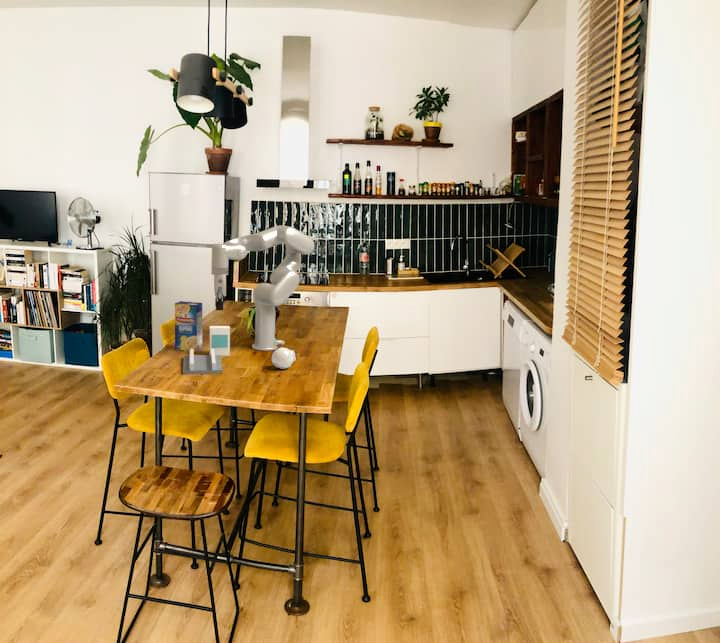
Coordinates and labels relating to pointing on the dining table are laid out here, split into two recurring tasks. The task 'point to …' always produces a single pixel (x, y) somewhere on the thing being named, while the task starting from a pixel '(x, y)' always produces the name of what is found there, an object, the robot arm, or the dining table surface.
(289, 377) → the dining table surface
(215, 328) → the carton
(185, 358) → the grey slotted holder base
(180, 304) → the blue food box
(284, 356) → the white rounded lump
